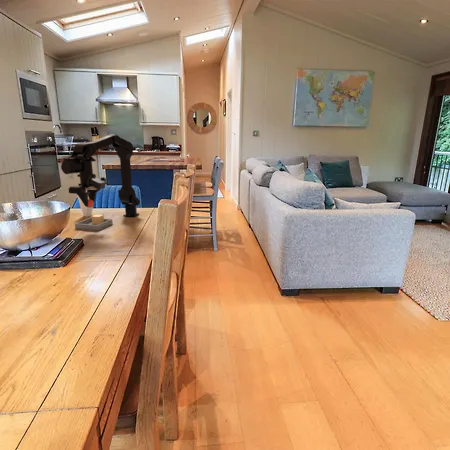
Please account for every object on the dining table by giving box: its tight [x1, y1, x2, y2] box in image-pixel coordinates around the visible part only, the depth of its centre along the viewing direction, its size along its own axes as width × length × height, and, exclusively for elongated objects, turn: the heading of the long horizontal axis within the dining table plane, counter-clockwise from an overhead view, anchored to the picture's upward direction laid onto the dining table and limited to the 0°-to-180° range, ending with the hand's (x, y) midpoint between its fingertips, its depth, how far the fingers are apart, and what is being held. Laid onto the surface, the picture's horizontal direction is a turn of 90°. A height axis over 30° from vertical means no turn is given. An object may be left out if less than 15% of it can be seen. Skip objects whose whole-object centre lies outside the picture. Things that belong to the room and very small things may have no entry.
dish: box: [74, 216, 113, 232], centre depth 151 cm, size 12×12×2 cm
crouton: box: [90, 214, 105, 225], centre depth 153 cm, size 4×4×4 cm
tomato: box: [87, 199, 95, 208], centre depth 145 cm, size 4×4×4 cm
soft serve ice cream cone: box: [76, 194, 94, 218], centre depth 168 cm, size 8×8×16 cm
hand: (89, 205), depth 146 cm, fingers closed on tomato, 4 cm apart
